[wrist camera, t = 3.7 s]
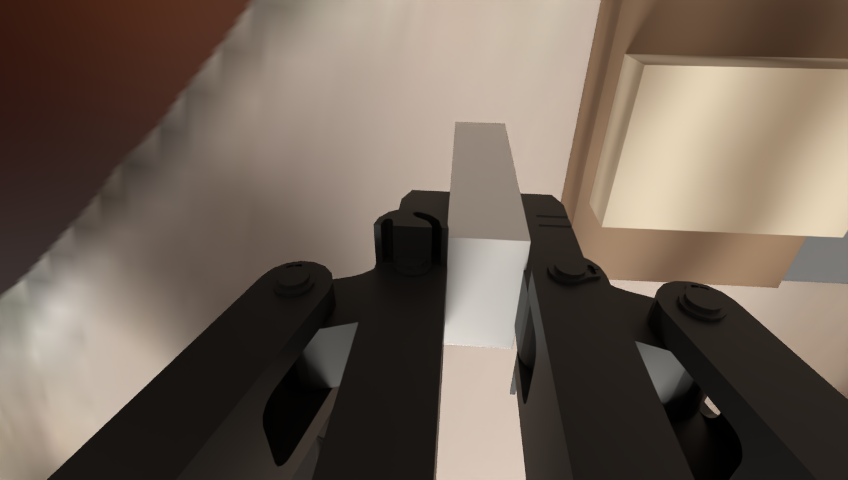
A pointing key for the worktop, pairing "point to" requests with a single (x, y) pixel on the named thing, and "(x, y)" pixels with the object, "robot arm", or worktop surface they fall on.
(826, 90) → the birch tile
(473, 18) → the worktop surface
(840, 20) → the walnut deck
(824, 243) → the rubber mat
